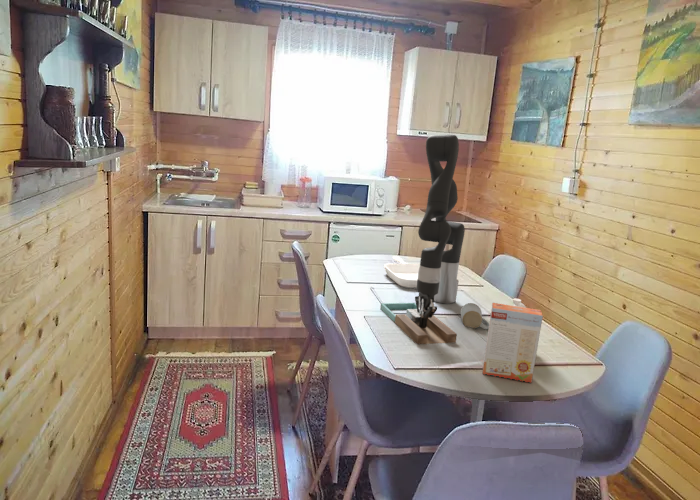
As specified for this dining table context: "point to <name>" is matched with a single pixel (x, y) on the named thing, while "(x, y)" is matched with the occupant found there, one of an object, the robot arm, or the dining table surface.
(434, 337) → the walnut slot board
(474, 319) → the ceramic mug
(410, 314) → the metal block
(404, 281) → the pan
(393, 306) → the teal tray
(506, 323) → the cracker box
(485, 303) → the dining table surface
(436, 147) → the robot arm
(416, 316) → the metal block
